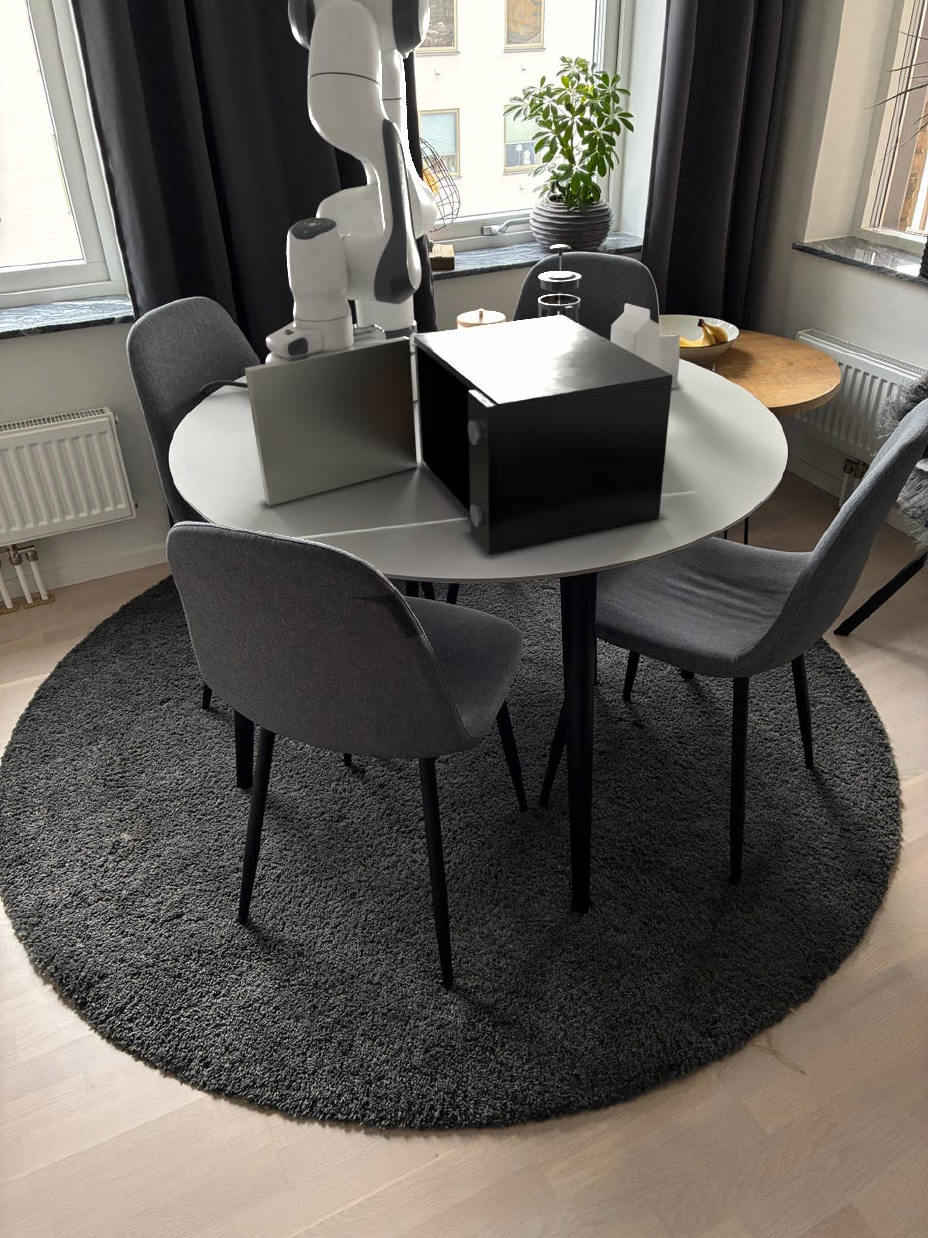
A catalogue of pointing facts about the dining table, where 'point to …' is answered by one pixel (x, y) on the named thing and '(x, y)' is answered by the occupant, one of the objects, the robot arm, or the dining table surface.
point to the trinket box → (479, 319)
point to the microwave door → (333, 418)
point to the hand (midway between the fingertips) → (334, 419)
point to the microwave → (541, 429)
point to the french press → (559, 283)
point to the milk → (637, 333)
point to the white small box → (669, 356)
